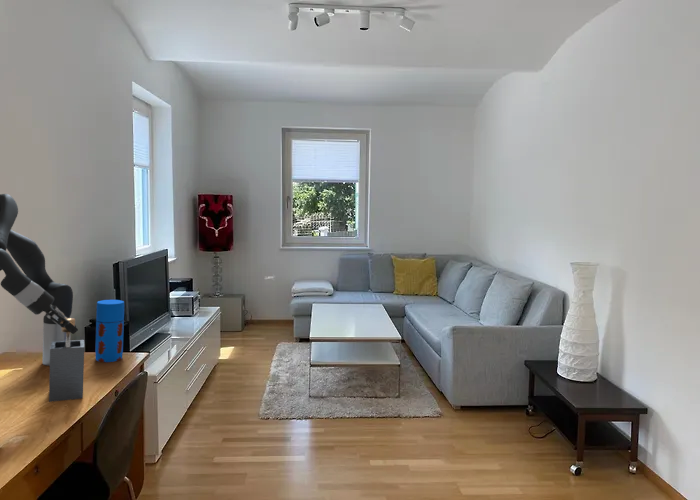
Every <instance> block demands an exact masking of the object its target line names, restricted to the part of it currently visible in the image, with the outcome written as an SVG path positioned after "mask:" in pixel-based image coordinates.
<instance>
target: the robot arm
mask: <svg viewBox="0 0 700 500" xmlns="http://www.w3.org/2000/svg"><path fill="white" fill-rule="evenodd" d="M18 214H19V206H18V204H17V202H16V200H15V199H14V198H13V197H12V195H10V194H8V193H1V194H0V272H1V271H3V272H4V274H5V277H3V278H2V280H1V281H0V286H1V287H2V289H4V290H5V291H6V292H8V293H9V294H10V295H11V296H13V297H14V298H15V299H16V300H17V301H18V302H19V303H20V304H21V305H22V306H24V307H25V308H26V309H28V310H29V311H31V313H33V314H34V315H35V316H37V315H40V314H41V313H45V314H44V315H43V319H42V320H43V323H42V325H43V326H42V328H43V329H42V365H44V366H50V348H51V343H52V342H54V341H66V332H62V327H63V328H66V329H67V330H68V331H70V332H71V333H70V334H73V335H74V334H76V332H78V328H77V325H76V324H75V326H74V325H72V324H71V323H70V321H69V320H67V319H66V318H71V315H72V314H73V313H72V312H73V302H74V292H73V288H72V287H71V286H70V285H69V284H66V283H60V282H56V281H54V280H53V279H52V278H51V277H50V274H49V273H48V272H47V270H46V258H45V255H44V253H43V252H42V249H40V247H39V246H38V244H37V243H36V242H35V241H34V240H32V239H31V238H29V237H27V236H25V235H23V234H21V233H19V232H17V231H14V230H13V228H12V227H13V226H14V224H15V221H16V219H17V217H18ZM7 251H8V252H9V253H8V252H7ZM21 270H22V271H21ZM63 320H64V321H65V322H63V323H62V321H63Z"/></svg>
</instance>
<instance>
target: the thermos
mask: <svg viewBox="0 0 700 500" xmlns="http://www.w3.org/2000/svg"><path fill="white" fill-rule="evenodd" d="M95 316H96V317H95V318H96V319H95V349H94V350H95V354H94V355H95V361H97V362H99V363H111V362H112V363H114V362H118V361H121V360H122V359H123V354H124V334H125V333H124V331H125V330H124V328H125V327H124V326H125V324H124V323H125V301H124V300H122V299H121V300H120V299H103V300H98V301H97V302H96V315H95Z"/></svg>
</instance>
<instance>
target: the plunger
mask: <svg viewBox="0 0 700 500" xmlns="http://www.w3.org/2000/svg"><path fill="white" fill-rule="evenodd" d="M66 319H67V320H69V321H70V323H71V324H72V325H74V326H75V325H76V318H73V317H70V318H66ZM63 322H65V321H64V320H63V321H62V323H63ZM62 332H66V346H65V347H70V341H71V334H72V333H71V332H70V331H68V330H67V329H66V328H63V327H62Z"/></svg>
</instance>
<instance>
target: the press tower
mask: <svg viewBox="0 0 700 500" xmlns="http://www.w3.org/2000/svg"><path fill="white" fill-rule="evenodd" d="M65 346H66V341H54V342H52V343H51V348H50V365H49V381H48V382H49V385H48V386H49V387H48V388H49V389H48V402H49V403H50V402H51V403H53V402H61V401H70V399H71V400H79V399H80V400H81V399H83V398H84V373H85V372H84V369H85V340H84V339H75V340H74V339H73V340H71V339H70V347H65ZM52 401H53V402H52Z"/></svg>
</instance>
